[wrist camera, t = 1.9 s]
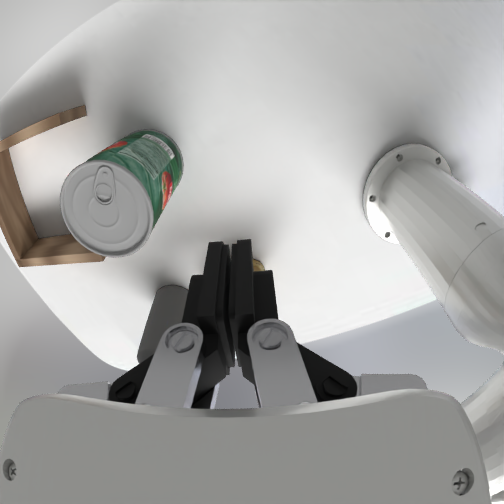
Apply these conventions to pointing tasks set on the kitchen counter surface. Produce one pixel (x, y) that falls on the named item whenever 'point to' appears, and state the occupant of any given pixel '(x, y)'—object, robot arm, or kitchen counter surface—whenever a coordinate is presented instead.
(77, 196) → the canned tomato
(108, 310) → the kitchen counter surface
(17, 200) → the box
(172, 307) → the bottle
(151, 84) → the kitchen counter surface
